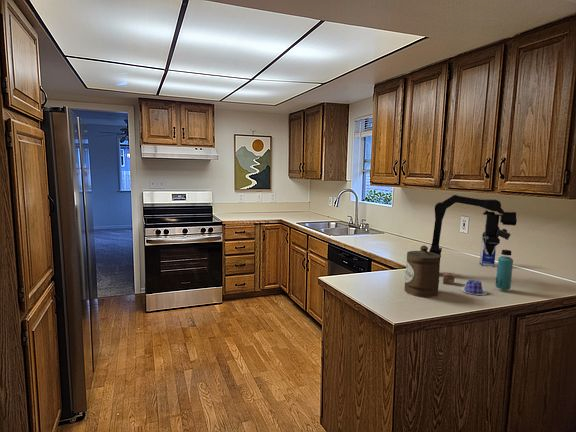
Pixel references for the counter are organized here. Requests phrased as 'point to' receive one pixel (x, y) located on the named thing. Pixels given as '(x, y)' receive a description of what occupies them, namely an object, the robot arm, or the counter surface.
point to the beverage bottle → (504, 271)
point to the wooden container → (422, 273)
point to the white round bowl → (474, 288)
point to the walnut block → (448, 278)
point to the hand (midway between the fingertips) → (489, 253)
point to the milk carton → (487, 256)
